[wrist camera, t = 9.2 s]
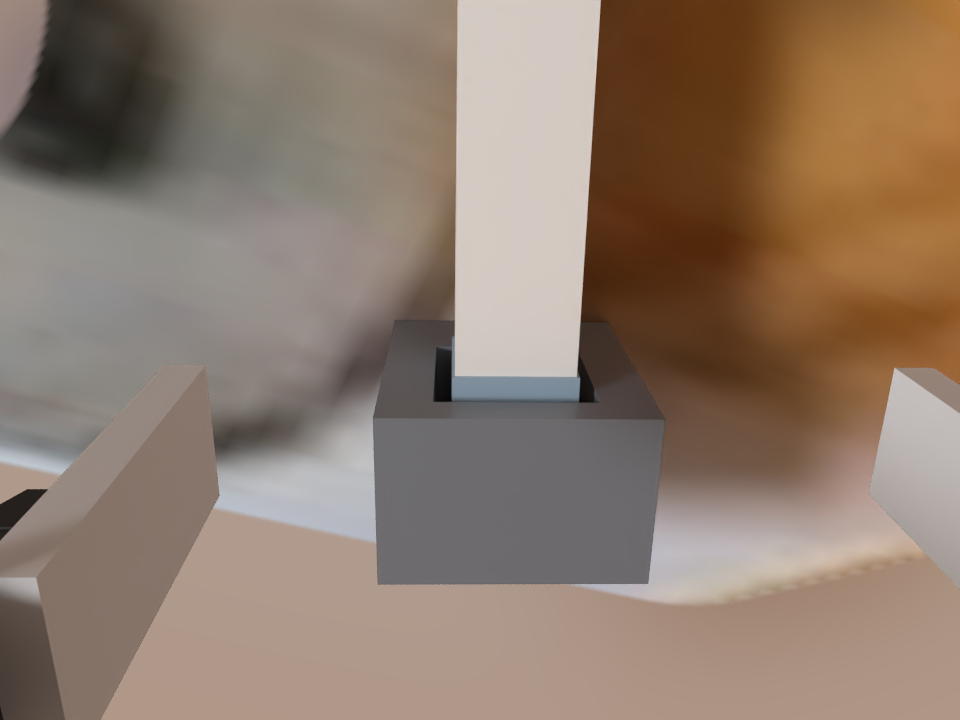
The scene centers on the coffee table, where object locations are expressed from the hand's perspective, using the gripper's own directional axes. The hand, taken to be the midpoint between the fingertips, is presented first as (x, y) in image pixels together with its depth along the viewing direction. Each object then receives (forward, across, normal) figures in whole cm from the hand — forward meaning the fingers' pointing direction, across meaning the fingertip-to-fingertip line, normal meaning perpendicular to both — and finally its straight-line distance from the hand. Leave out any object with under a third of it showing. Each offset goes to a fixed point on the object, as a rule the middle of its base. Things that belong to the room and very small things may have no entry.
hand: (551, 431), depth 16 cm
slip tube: (+15, 0, +3) cm, 15 cm away
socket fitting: (+19, 0, -7) cm, 20 cm away
